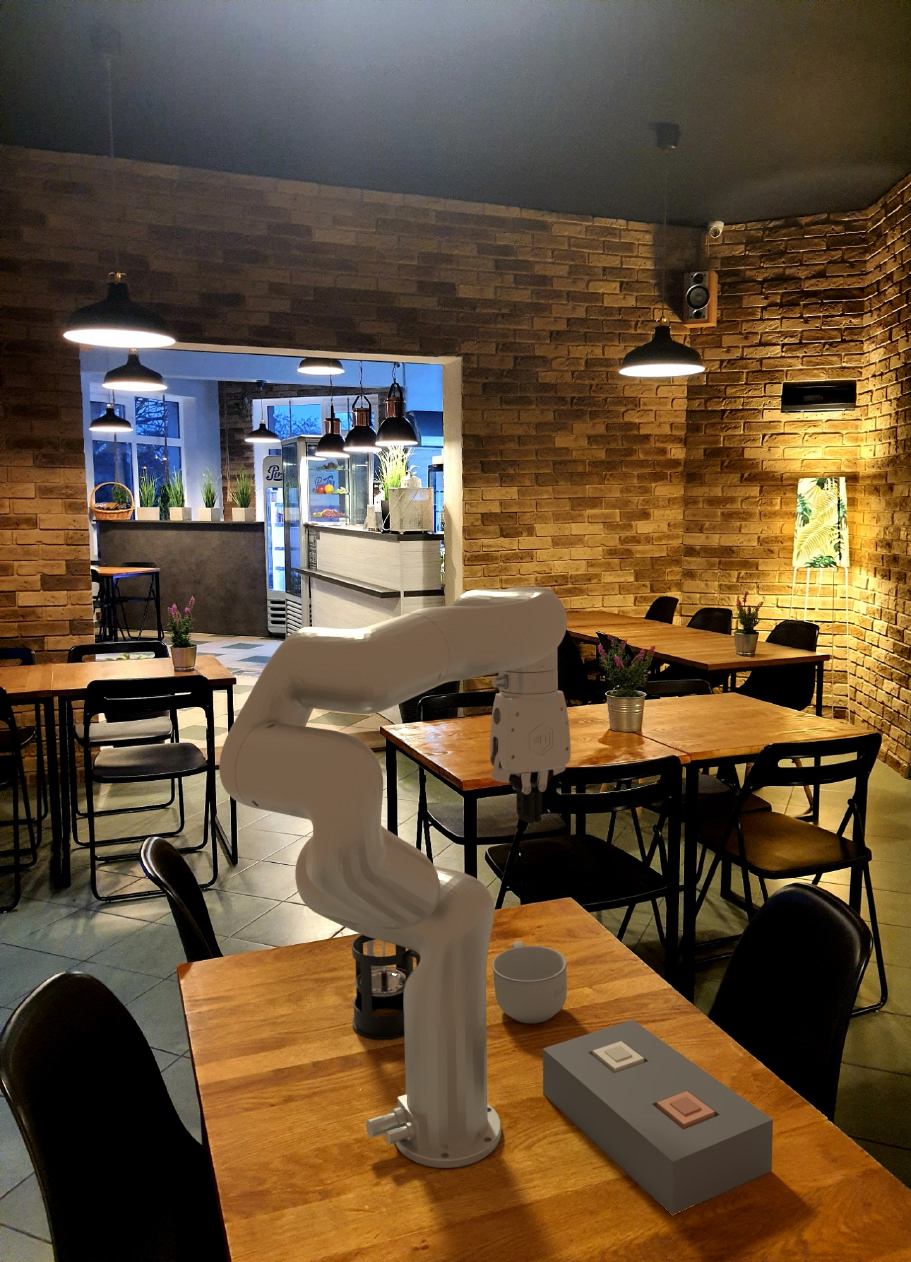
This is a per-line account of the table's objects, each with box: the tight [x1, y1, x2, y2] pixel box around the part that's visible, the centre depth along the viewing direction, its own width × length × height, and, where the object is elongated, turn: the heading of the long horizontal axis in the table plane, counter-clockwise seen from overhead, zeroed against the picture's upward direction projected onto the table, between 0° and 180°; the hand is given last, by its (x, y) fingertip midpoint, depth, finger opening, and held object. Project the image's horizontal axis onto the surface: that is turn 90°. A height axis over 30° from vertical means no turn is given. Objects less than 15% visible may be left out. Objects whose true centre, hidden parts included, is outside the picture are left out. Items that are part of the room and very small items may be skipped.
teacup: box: [491, 941, 568, 1024], centre depth 138 cm, size 14×11×8 cm
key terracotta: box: [657, 1091, 715, 1130], centre depth 104 cm, size 4×4×3 cm
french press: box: [351, 934, 420, 1041], centre depth 133 cm, size 12×9×23 cm
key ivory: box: [593, 1041, 644, 1073], centre depth 114 cm, size 4×4×3 cm
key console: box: [542, 1019, 774, 1215], centre depth 109 cm, size 14×24×6 cm, turn 28°
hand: (529, 819), depth 123 cm, fingers closed
